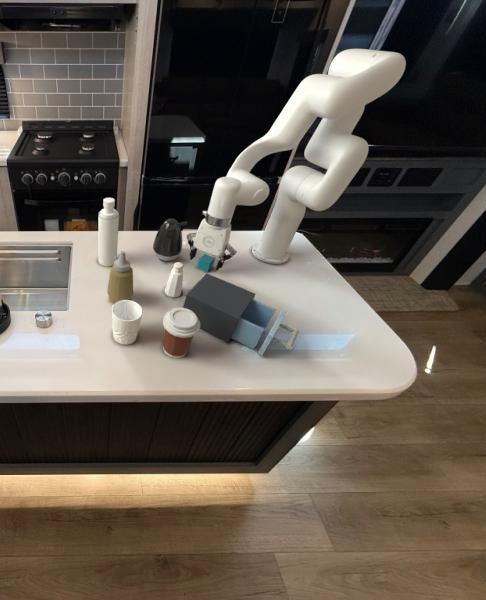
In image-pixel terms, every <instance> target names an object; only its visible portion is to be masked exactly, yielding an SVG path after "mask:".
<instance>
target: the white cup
mask: <svg viewBox="0 0 486 600" xmlns="http://www.w3.org/2000/svg"><path fill="white" fill-rule="evenodd" d="M142 316H143V308H142V306H141V305H140V304H139V303H137V301H135V300H131V299H130V300H122V301H119V302H117V303H115V304H113V305H112V307H111V326H112V327H111V329H112V338H113V339H114V341H115V342H116V343H118V344H120V345H126V346H127V345H131V344H133V343H135V341H136V340H137V337H138V333H139V330H140V326H141V321H142Z"/></svg>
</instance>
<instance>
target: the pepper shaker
mask: <svg viewBox="0 0 486 600" xmlns="http://www.w3.org/2000/svg"><path fill="white" fill-rule="evenodd" d="M183 269H184V264H183V263H182V262H175V263H173V268H172V269H171V271H170V273H169V277H168V278H167V279H168V280H167V283H166V286H165V289H164V293H165V295H167V296H168V297H171V298H177V297H180V296H181V295H182V291H183V281H184V271H183Z"/></svg>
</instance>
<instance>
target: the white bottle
mask: <svg viewBox="0 0 486 600" xmlns="http://www.w3.org/2000/svg"><path fill="white" fill-rule="evenodd" d="M115 203H116V199H115V198H113V197H105V198H103V203H102V205H103V206H102V207H103V208H102V209H101V210H100V211H99V212H98V223H97V224H98V227H97V229H98V230H97V232H98V234H97V235H98V238H97V239H98V240H97V241H98V243H97V246H98V247H97V249H98V250H97V251H98V253H97V256H98V257H97V260H98V263H99V265H101V266H102V267H112V266H114V261H115V260H117V259H118V243H119V241H118V239H119V224H120V223H119V221H120V213H119V211H118V210H117V209H115V206H116V205H115Z"/></svg>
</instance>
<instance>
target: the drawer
mask: <svg viewBox="0 0 486 600" xmlns="http://www.w3.org/2000/svg"><path fill="white" fill-rule="evenodd" d="M276 310H277V308H274V307H272V306H270V305H267V304H265V303H262V302H260V301H258V300H256V299H252V301H251V302H250V304H249V305H248V307H247V308H246V310H245V311H244V312H243V314H242V315H241V317H240V318H239V320H238V322H237V324H236V327H235V329H234V331H233V333H232V336H231V339H232V340H234V341H236V342H238V343H240V344H242V345H244V346H246V347H248V348H250V349H252V350H254V349H255V348H256V346H257V345H258V343H259V341H260V339H261V338H262V336H263V334H264V332H265V331H266V329H267V327H268V326H269V323H270V322H271V320H272V318H273V317H274V314H275V313H276ZM287 312H288V311H287V310H285V309H282V310H281V311H280V313H279V315H278V317H277V318H276V319H275V322H274V323H273V325H272V327H271V328H270V330H269V332H268V334H267V335H266V338H265V340H264V341H263V343H262V344H261V346H260V348H259V350H258V352H257V355H258V356H260V357H263V355H264V354H265V352H266V351H267V349H268V347H269V345H270V343H271V341H274V342H276V343H278V344H280V345H282V346H283V347H285V349H286V350H292V348H293V346H294V344H295V343H296V340H297V338H298V336H299V334H300V330H299V329H298V328H292V327H289V326H287V325H285V324H282V323H283V320H284V318H285V316H286V315H287ZM279 328H282V329H284V330H286V331H288V332H291V334H290V335H289V338H288V339H287V342H286V341H283V340H281V339H279V338H276V337H275V334H276V333H277V331H278V329H279Z"/></svg>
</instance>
